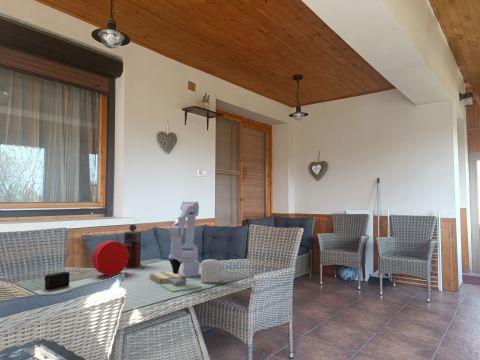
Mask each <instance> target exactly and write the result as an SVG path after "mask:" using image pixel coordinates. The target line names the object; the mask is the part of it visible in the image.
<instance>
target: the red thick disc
mask: <svg viewBox="0 0 480 360" xmlns="http://www.w3.org/2000/svg"><path fill="white" fill-rule="evenodd" d="M128 258H129V254H128V250H127V248H126V246H125V245H124V243H122V242H120V241H116V240H105V241H103V242H101V243H99V244H98V245H97V247H95V249H94V251H93V253H92V259H91V260H92V261H91V263H92V265H93V267H94V269H95V271H97V272H98V273H99V274H103V275H105V276H114V275H113V274H116V275H118V274H120V273H121V272H123V270H124V269H125V268H126V267H125V266H126V265H127V262H128Z"/></svg>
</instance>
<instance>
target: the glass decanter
mask: <svg viewBox="0 0 480 360" xmlns="http://www.w3.org/2000/svg"><path fill="white" fill-rule="evenodd" d="M141 242H142V231H141V230H137V226H136V224H134V223H133V224H130V225H129V230H127V231H125V232H124V236H123V244H124V245H125V246H126V248H127V250H128V254H129V258H128V262H127V265H126V266H125V268H138V267H140V266H141V247H142V246H141V245H142V243H141Z"/></svg>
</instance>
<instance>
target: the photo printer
mask: <svg viewBox="0 0 480 360" xmlns="http://www.w3.org/2000/svg"><path fill="white" fill-rule="evenodd" d="M220 267H221V264H220V261H219V260H217V259H213V258H212V259H211V258H208V259H204V260H202V261H201V268H200V282H201V283H220V280H221V279H220V272H221V271H220V269H221V268H220Z"/></svg>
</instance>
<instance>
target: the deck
mask: <svg viewBox="0 0 480 360" xmlns="http://www.w3.org/2000/svg"><path fill="white" fill-rule="evenodd" d="M173 278H180V279H183V280H185V281H187V277H186V276H185V275H183V274H182V273H181V272H178V274H173V270H169V271H162V272H161V271H160V272H153V273H152V272H151V273H149V278H148V279H149V280H150V279H151V280H150V281H152V282H154V283H156V284H157V285H159V286H160V284H165V283H168V279H173Z"/></svg>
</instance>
